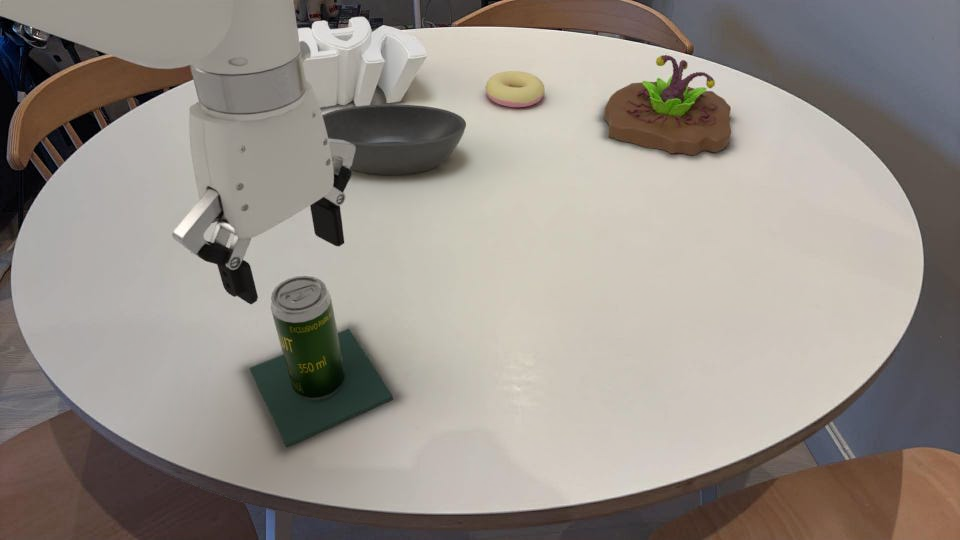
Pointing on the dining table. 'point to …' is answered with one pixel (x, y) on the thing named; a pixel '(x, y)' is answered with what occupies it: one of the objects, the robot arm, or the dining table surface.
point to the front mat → (314, 416)
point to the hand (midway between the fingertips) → (288, 266)
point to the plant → (670, 114)
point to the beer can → (308, 336)
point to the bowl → (396, 136)
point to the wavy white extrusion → (360, 62)
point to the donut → (515, 89)
